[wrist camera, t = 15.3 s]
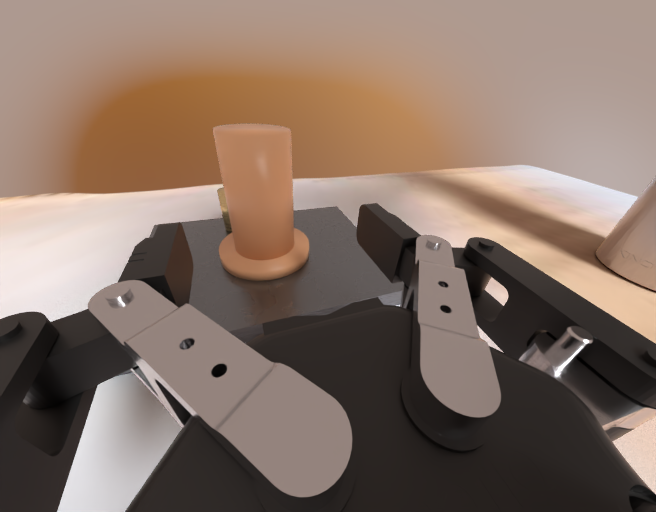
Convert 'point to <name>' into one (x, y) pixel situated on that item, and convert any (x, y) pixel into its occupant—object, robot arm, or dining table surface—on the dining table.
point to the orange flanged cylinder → (259, 202)
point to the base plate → (290, 291)
